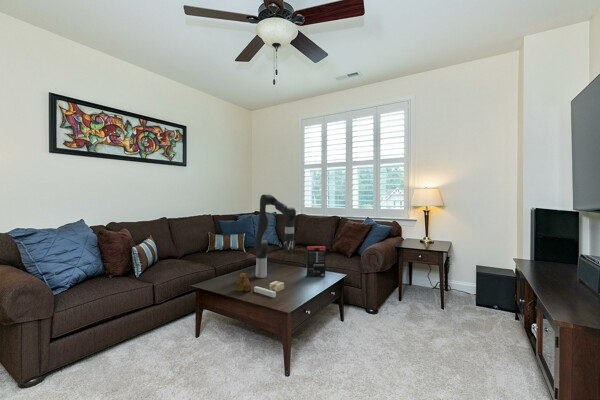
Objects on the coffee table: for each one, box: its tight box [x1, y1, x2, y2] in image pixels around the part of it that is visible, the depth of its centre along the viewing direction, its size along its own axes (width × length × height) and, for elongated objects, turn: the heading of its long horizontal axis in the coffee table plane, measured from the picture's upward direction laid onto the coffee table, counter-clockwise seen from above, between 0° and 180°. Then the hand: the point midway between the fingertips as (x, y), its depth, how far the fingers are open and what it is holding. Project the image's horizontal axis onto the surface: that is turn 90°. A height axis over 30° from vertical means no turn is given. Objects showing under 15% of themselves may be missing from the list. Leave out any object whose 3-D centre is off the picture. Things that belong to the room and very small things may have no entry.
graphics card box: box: [305, 245, 327, 278], centre depth 255 cm, size 17×7×27 cm, turn 96°
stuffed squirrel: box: [235, 272, 253, 292], centre depth 218 cm, size 10×14×13 cm
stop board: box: [253, 285, 277, 298], centre depth 210 cm, size 20×2×4 cm, turn 53°
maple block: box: [269, 280, 285, 293], centre depth 220 cm, size 8×8×5 cm
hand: (289, 253), depth 224 cm, fingers open, 3 cm apart
